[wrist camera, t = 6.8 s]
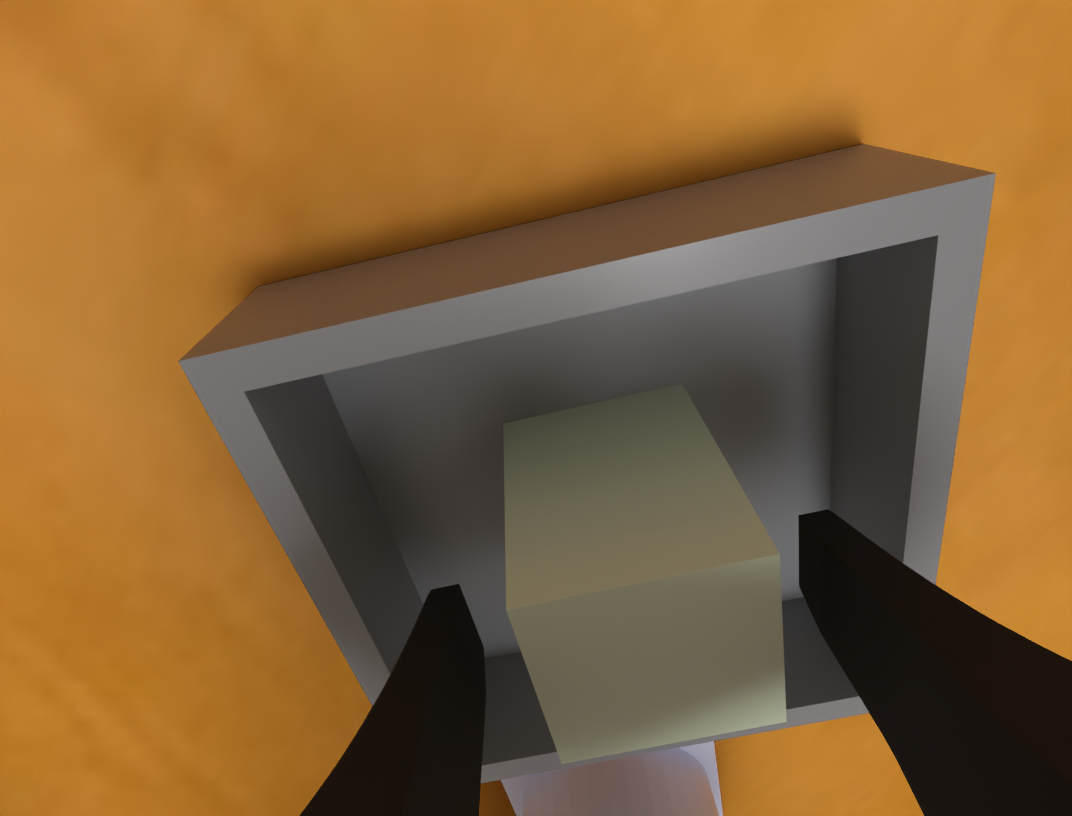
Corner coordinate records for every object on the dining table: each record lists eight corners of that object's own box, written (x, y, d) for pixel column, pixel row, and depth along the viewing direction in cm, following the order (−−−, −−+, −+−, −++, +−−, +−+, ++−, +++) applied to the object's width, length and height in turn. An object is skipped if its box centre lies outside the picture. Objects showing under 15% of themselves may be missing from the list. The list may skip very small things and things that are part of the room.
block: (699, 521, 17) (787, 722, 12) (542, 555, 18) (562, 764, 12) (682, 383, 15) (779, 553, 10) (503, 423, 15) (506, 610, 10)
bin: (843, 591, 20) (917, 703, 16) (434, 670, 21) (421, 793, 17) (863, 143, 13) (995, 173, 10) (258, 286, 14) (177, 361, 10)
